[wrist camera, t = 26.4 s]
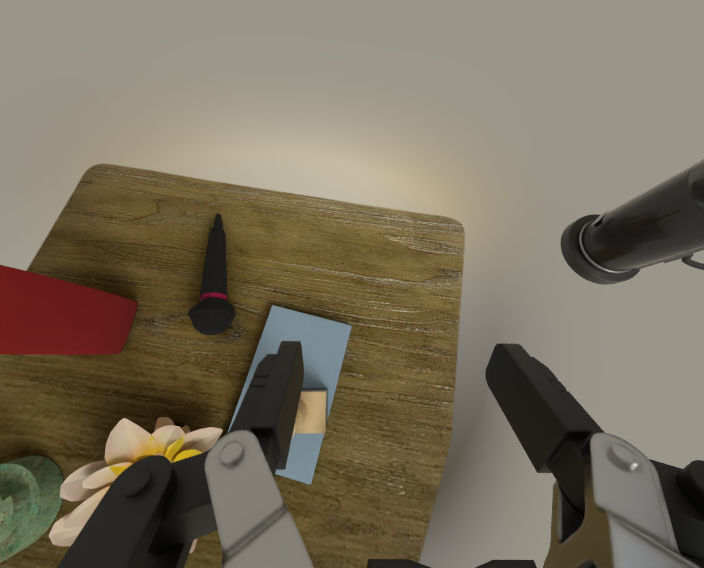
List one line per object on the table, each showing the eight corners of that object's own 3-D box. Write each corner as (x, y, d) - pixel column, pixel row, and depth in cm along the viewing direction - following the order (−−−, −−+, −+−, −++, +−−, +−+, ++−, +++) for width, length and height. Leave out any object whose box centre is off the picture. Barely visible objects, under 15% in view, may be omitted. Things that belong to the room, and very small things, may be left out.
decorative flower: (193, 581, 28) (90, 673, 19) (120, 541, 31) (1, 604, 22) (242, 429, 33) (178, 444, 24) (175, 407, 36) (96, 413, 27)
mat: (351, 326, 37) (351, 325, 36) (311, 480, 32) (310, 485, 31) (274, 306, 38) (272, 304, 37) (223, 453, 33) (218, 457, 32)
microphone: (218, 229, 45) (212, 341, 37) (189, 210, 40) (176, 335, 32) (244, 219, 43) (244, 333, 36) (218, 198, 38) (210, 325, 31)
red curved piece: (156, 304, 38) (-42, 252, 19) (140, 355, 36) (-100, 354, 17) (60, 294, 38) (-232, 233, 19) (39, 344, 36) (-312, 331, 17)
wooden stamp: (328, 387, 34) (319, 401, 24) (327, 425, 33) (317, 456, 22) (276, 388, 34) (244, 401, 24) (273, 425, 33) (238, 457, 22)
